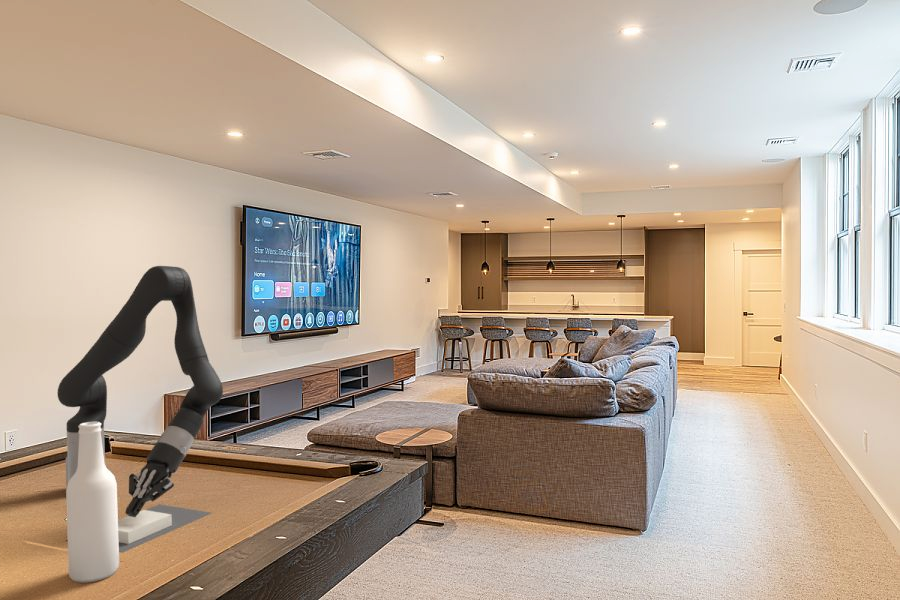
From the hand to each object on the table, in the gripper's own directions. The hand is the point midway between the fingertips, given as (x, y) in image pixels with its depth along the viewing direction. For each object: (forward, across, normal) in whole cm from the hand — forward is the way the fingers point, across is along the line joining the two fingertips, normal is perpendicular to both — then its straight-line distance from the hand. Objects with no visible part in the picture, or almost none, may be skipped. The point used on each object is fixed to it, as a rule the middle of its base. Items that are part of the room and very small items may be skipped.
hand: (129, 515), depth 149 cm
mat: (0, -2, +7) cm, 7 cm away
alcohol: (+16, +10, -8) cm, 20 cm away
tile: (-3, 0, +8) cm, 8 cm away
